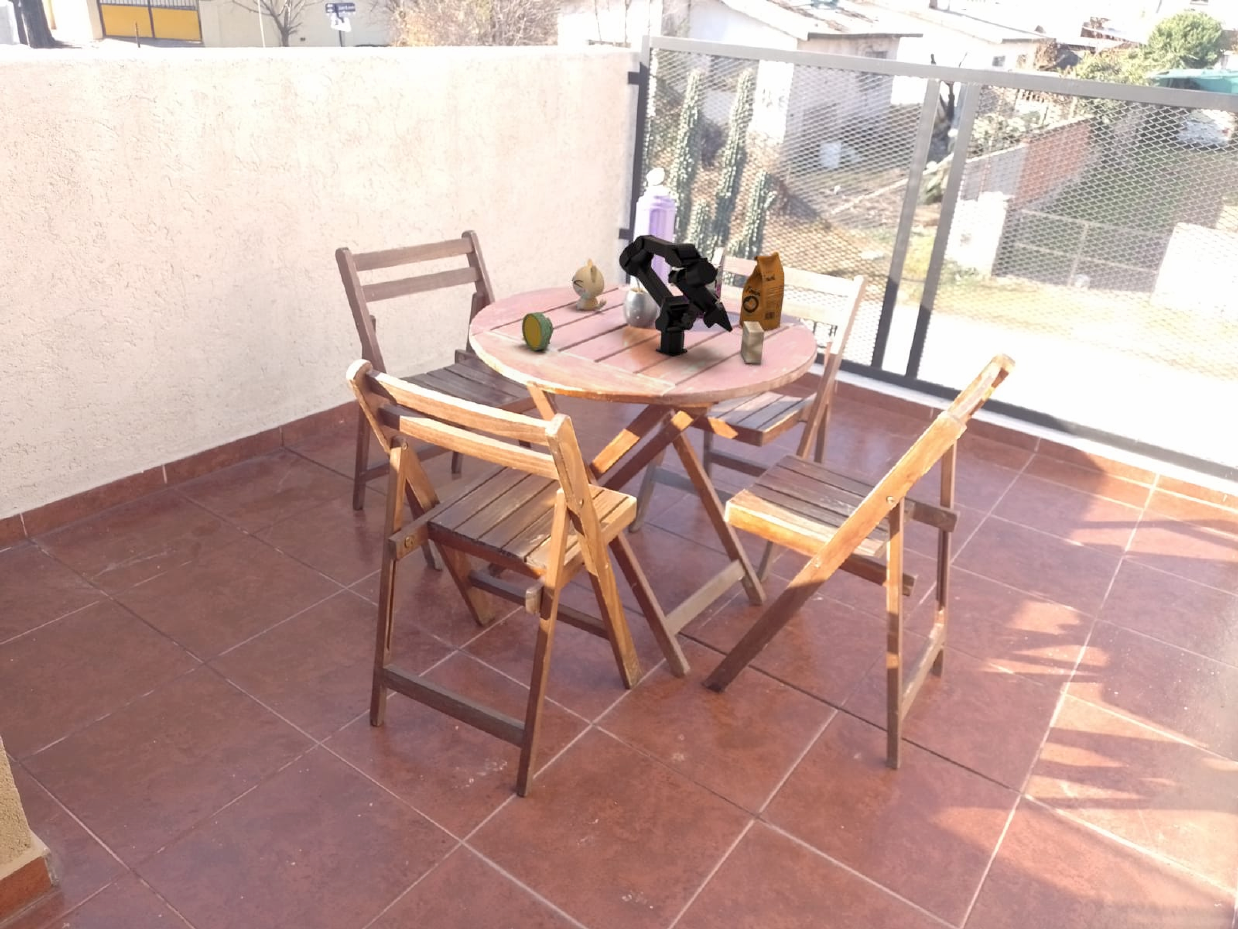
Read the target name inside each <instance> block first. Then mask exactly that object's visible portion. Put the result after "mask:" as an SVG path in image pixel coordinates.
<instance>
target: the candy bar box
mask: <svg viewBox="0 0 1238 929" xmlns="http://www.w3.org/2000/svg"><path fill="white" fill-rule="evenodd" d="M711 264H712V265H713V266H714V267H715V269H716V271H717V276H716V279H715V281H714V282H713V283H711V284H708V285H706V287H707V288H708V289H709V290H714V291H715V292H716V293H717V294H718V296H719V298H718V299H717V300H718V301H717V302H716V303H718V304H719V303H720V302H721V300H722V298H721V296H722V285H723V272H724V265H723V264H716V263H711ZM682 295H683V296H684V294H683V293H682ZM686 299H687V298H686ZM687 301H688V300H687ZM704 314H705V313H704ZM704 314H703V315H704ZM703 315H702V316H700V315H698V317H697V319H699V318H700V319H703Z"/></svg>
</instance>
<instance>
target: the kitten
mask: <svg viewBox="0 0 1238 929" xmlns="http://www.w3.org/2000/svg"><path fill="white" fill-rule="evenodd" d="M604 279H605V278H604V276H603V273H602V272H601V271H600V270H599V269H598V268H597V266H596V265H595V264H594V263H593V260H592V259H591V258H588V260H587V265H585V266H582V267H580V268H578V269H577V270H576V272H575V274H574V276H572V279H571V281H572V288H573V290H574V292H575V294H577V295H578V296H579V299H578V301H577V304H576V308H577V310H579V311H582V310H583V311H584V310H585V311H594V310H596V309H597V310H599V309H602V308H604V307H606V304H607V302H608V301H607V299H606V298H604V297H603V298H601V299H600V301H598V299H597V298H596V297H598V296H600V295H602V293H603V292H604V290H605V280H604Z"/></svg>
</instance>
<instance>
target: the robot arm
mask: <svg viewBox="0 0 1238 929" xmlns="http://www.w3.org/2000/svg"><path fill="white" fill-rule="evenodd" d="M655 256H658V257H661V258H663V259H664V262H665V263H666V264H667V265H668V266H670V267H672V268H675V269H677V270H674V269H671V270H670V271H669V273H668V274H667V283H668V284H669V285H670V284H673V285H674V286H675V287H676V288H677V289H678V290H679V291H680V292H681V294H679V295H674V294H673V293H672V291H671V290H670V289H669V287H668V286H667V285H666V283H664V281H663V280H662V279H661V278H660V276H659V274H658V273H657V272H656V271H655V270H654V269H653V267H652V263H653V259H654V258H655ZM618 263H619V267H620V268H621V269H622V270H623V271H624V272H625V273H626V274H627V275H629V276H631V277H634V278H636V279H638V281H639V283H640V284H641V285H642V287H644V289H645V290H646V291H647V293H648V294H649V295H650V297H651V298H652V300H653V301H654V302H655V303H656V305H657V306H658V307H659V315H658V317H657V318H656V319H655V320H654V325H655V326H654V327H655V329H656V330H657V331H659V332H660V343H659V344H660V346H659V347H658V348H655V351H656V352H659V353H663V354H666V355H669V356H673V357H674V356H678V355H680V354H681V355H682V354H684V353H687V352H688V349H686V348H685V338H686V336H685V331H690V330H692V329H693V327H694V324H695V322H696V321H697V319H698V315H700V316H702V315H703V314H704V313H705V314H704V315H703V318H702V322H703V324H704V325H705V326H706V328H708V329H710V328H712V327H713V326H714V325H715V324H716V325H718V326H719V327H720V328H722V329H724V330H725V331H727V332H728V333H732V332H733V327H732V324H731V321H730V318H729V316H728V311H727V310H726V307H725V306H724V303H723V302H722V301H720V303H719V304H718V303H716V302H717V301H718V300H717V299H718V298H719V296H718V294H717V293H716V292H715V291H714V290H709V289H708V288H707V287H706V285H708V284H711V283H713V282H714V281H715V279H716V276H717V271H716V269H715V267H714V266H713V265H712V264H713V263H711V262H709V260H708V257H707V256H706V257H703V256H702V255H701V254H700V252H699V251H698V249H697V247H696V246H695V244H694V243H693V242H692V243H691V242H680V243H677V242H676V243H674V242H672V241H669V240H666V239H663V238H661V237H657V236H655V235H653V234H641V235H639V236H636V238H635V240H633V241H632V242H631V243H630V244H629V245H627V246H626V247H624V248H623V250H622V252H621V253H620V255H619V258H618ZM683 294H684V296H683ZM686 298H687V299H686ZM687 300H688V301H687Z"/></svg>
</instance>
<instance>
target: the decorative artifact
mask: <svg viewBox="0 0 1238 929" xmlns="http://www.w3.org/2000/svg"><path fill="white" fill-rule="evenodd" d="M554 329H555V327H554V326H553V323H552V321H551V319H550V318H549V317H546V316H545V315H544V314H543V313H542V312H539V311H537V312H536V311H535V312H530V313H527V314H525V315H524V317H523V319H522V322H521V331H522V332H521V333H522V337H523V340H524V342H525V344H526V346H527V347H528V348H529V349H530V350H531V351H539V350H541V351H542V350H545V349H546V348H548V346H549V345H550V344H551V339H552V335H553V333H554Z"/></svg>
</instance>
